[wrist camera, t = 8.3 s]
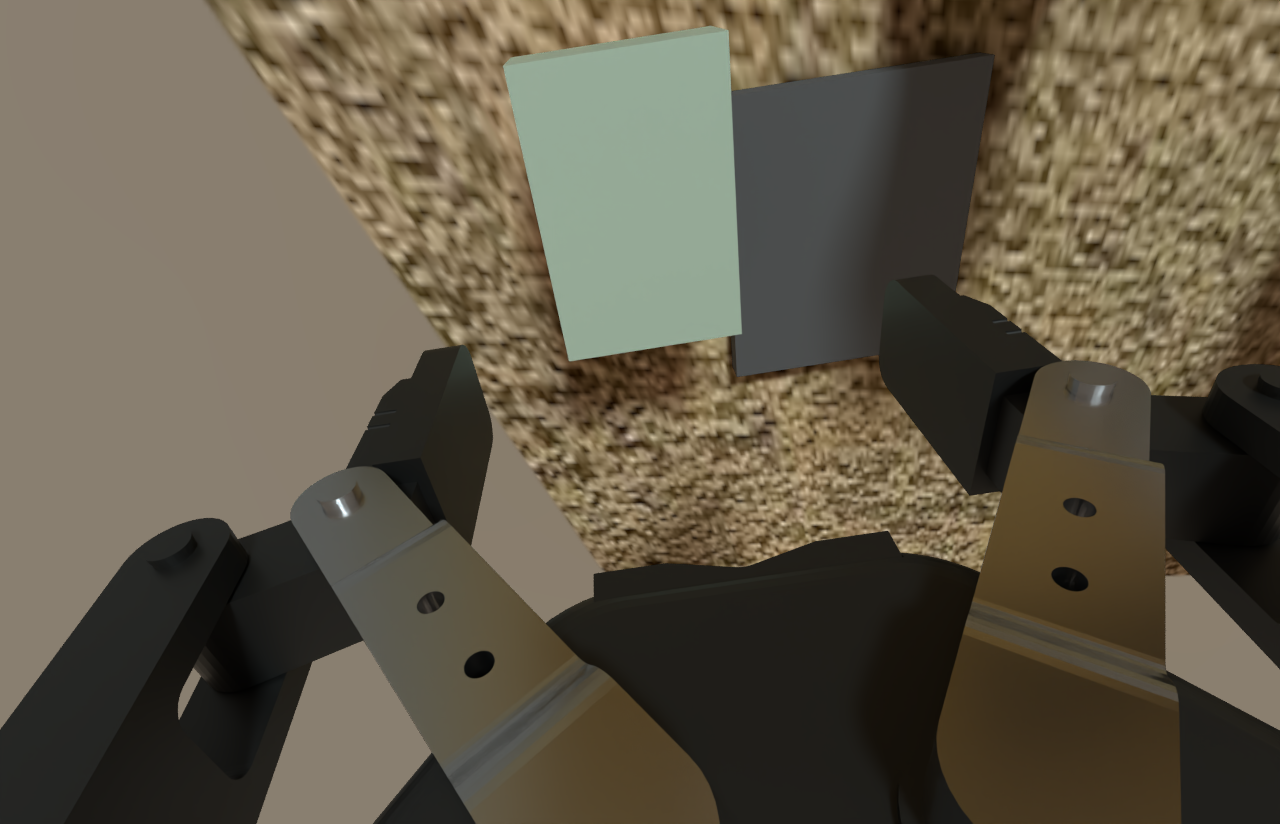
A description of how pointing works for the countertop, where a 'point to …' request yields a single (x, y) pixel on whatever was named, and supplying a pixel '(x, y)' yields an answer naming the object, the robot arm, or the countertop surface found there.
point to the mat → (849, 202)
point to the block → (634, 187)
